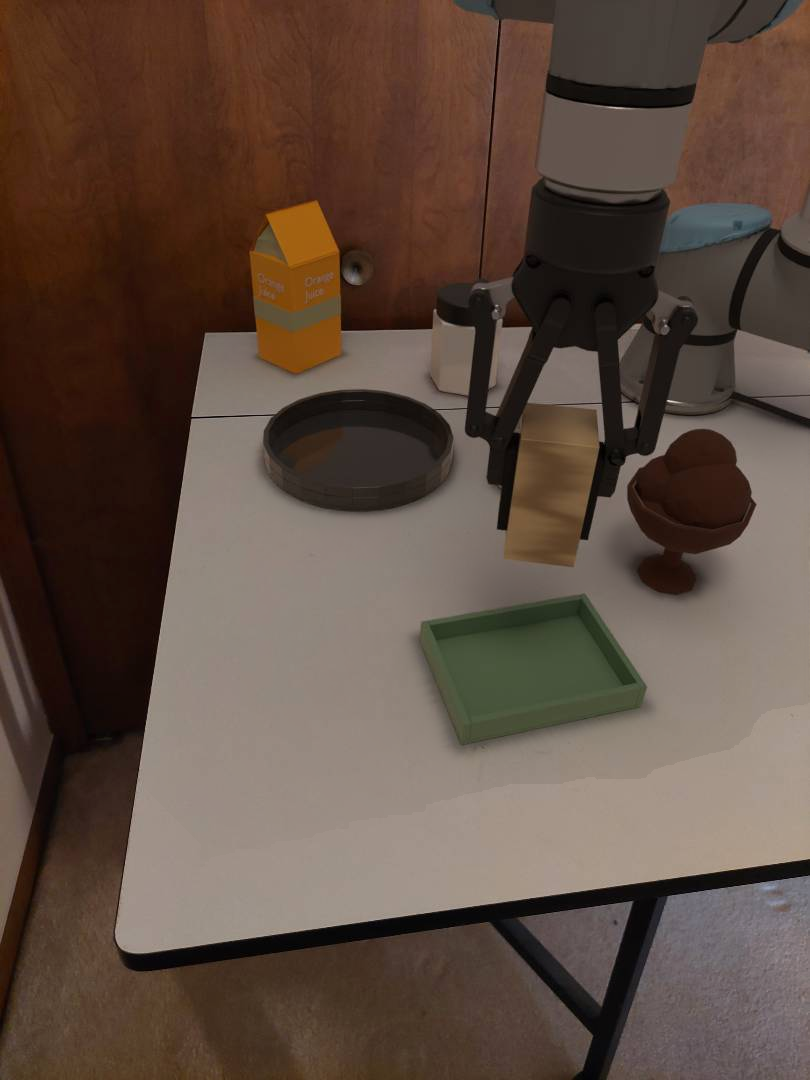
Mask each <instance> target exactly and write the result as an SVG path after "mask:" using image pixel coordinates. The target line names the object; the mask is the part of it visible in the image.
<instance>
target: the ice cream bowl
mask: <svg viewBox="0 0 810 1080" xmlns="http://www.w3.org/2000/svg"><path fill="white" fill-rule="evenodd" d="M737 463H738V457H737V451H736V449H735V447H734V445H733V443H732V441H730V440H729V439H728V438H727V437H726V436H725V435H723V434H722V433H719V432H718V431H715V430H713V429H710V428H695V429H691V430H688V431H685V432H684V433H681V434H680V435H679V436H678V437H677V438H676V439H675V440H674V441H673V442H671V443H670V444H669V446H668V447H667V449H666V451H665V453H664V454H663V455H659V456H656V457H654V458H651V459H650V460H649V461H648V462H647V463H646V464H645V465H644V466H642V467H639V468H637V470H636V472H635V473H634V475H633V476H632V477H631V479H630V481H629V482H628V484H627V486H626V499H627V503H628V506H629V510H630V512H631V514H632V517H633V518H634V520H635V522H636V523H637V526H638V528H639V530H640V531H641V532H642V534H644V536H646V538H647V539H649V540H651V541H652V542H654V543H656V544H658V545H659V546H661V547H663V548H664V550H663V553H656V554H651V555H648V556H645V557H644V558H643V559H642V561H641V563H639V566H638V567H637V569H636V572H637V574H638V576H639V577H640V580H641V582H642V583H643V584H645V585H646V586H648V587H649V588H651V589H653V590H654V591H656V592H657V593H665V594H670V595H676V596H677V595H681V594H684V593H687V592H690V591H692V590H693V588H694V586H695V584H696V582H697V575H696V573H695V571H694V569H693V567H692V566H691V564H690V563H688V562H686V561H684V560H683V556H684V555H683V554H688V555H699V554H702V553H705V552H708V551H712V550H715V549H719V548H723V547H725V546H729V545H732V544H733V543H734V542H735V541H737V540H738V539H739V538H740V537H741V536H742V534H743V533H744V531H745V530H746V529H747V527H748V526H749V523H750V521H751V520H752V516H753V514H754V512H755V510H756V507H757V505H758V504H757V503H756V502H755V500H754V499H753V497H752V494H753V492H752V487H751V484H750V481H749V480H748V478H747V477H746V476H745V474H744V472H743V471H742V470H741V468H739V466H737Z"/></svg>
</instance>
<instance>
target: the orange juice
mask: <svg viewBox="0 0 810 1080" xmlns="http://www.w3.org/2000/svg"><path fill="white" fill-rule="evenodd" d="M340 253H341V252H340V249H339V248H338V245H337V243H336V241H335V239H334V236H333V234H332V231H331V229H330V227H329V225H328V222H327V220H326V218H325V215H324V213H323V211H322V208H321V206H320V204H319V201H318V199H315V200H311V201H307V202H304V203H303V202H302V203H300V204H296V205H291V206H288V207H284V208H281V209H278V210H274V211H269V212H266V213H265V215H264V217H263V220H262V222H261V225H260V227H259V229H258V231H257V234H256V236H255V238H254V241H253V243H252V245H251V248H250V249H249V259H250V260H249V261H250V271H251V272H250V273H251V282H252V283H251V285H252V294H253V295H252V299H253V309H254V310H253V311H254V316H255V317H254V318H255V329H256V339H257V350H258V351H257V352H258V358H260V359H262V360H264V361H266V362H269V363H271V364H272V365H274V366H277V367H279V368H281V369H284V370H286V371H287V372H289V373H291V374H293V375H297V374H300V373H302V372H305V371H307V370H310V369H311V368H313V367H316V366H318V365H321V364H323V363H325V362H327V361H331V360H332V359H335V358H336V357H339V356H341V355H342V295H341V264H340V263H341V262H340Z"/></svg>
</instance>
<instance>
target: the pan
mask: <svg viewBox="0 0 810 1080" xmlns="http://www.w3.org/2000/svg"><path fill="white" fill-rule="evenodd" d="M262 434H263V436H262V437H263V438H262V447H263V448H262V449H263V458H264V464H265V468H266V471H267V473H268V475H269V477H270V478H271V480H272V481H273V482H274V484H276V486H278V488H280V490H282V491H284V493H287V494H289V495H290V496H291V497H293V498H295V499H297V500H299V501H302V502H304V503H307V504H310V505H312V506H313V505H314V506H317V507H321V508H325V509H330V510H335V511H336V510H337V511H347V512H348V511H349V512H370V511H381V510H386V509H387V510H388V509H393V508H396V507H401V506H404V505H407V504H410V503H412V502H415V501H418V500H420V499H422V498H424V497H425V496H428V495H429V494H430V493H433V491H435V490H436V489H437V488H438V487H440V486H441V485H442V483H443V482H444V481H446V478H447V477H448V475H449V473H450V470H451V467H452V460H453V451H454V439H455V438H454V435H453V431H452V427H451V425H450V424H449V422H448V421H447V420H446V418H445V417H444V416H443V415H442V414H441V412H439V411H437V410H436V409H434V408H433V407H432V406H430V405H429V404H427V403H425V402H422V401H420V400H417V399H415V398H412V397H411V396H407V395H403V394H401V393H400V394H399V393H395V392H391V391H386V390H377V389H368V388H359V389H358V388H357V389H356V388H355V389H354V388H353V389H337V390H332V391H324V392H319V393H316V394H312V395H309V396H305V397H303V398H299V399H297V400H295V401H293V402H291V403H290V404H287V405H286V406H284V407H282V408H280V409H279V411H277V412H276V413H275V414H274V415H273V416H271V417H270V419H269V420H268V423H267V424H266V426H265V427H264V429H263V433H262Z"/></svg>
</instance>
